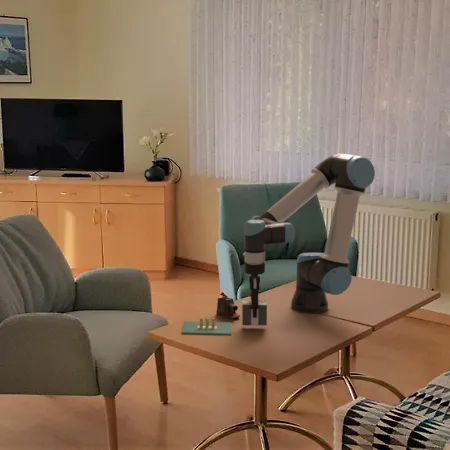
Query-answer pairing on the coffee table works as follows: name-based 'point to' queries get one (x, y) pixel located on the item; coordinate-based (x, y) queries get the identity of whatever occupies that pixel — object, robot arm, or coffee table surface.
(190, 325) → the header board
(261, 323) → the block
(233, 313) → the electronic device
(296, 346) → the coffee table surface
